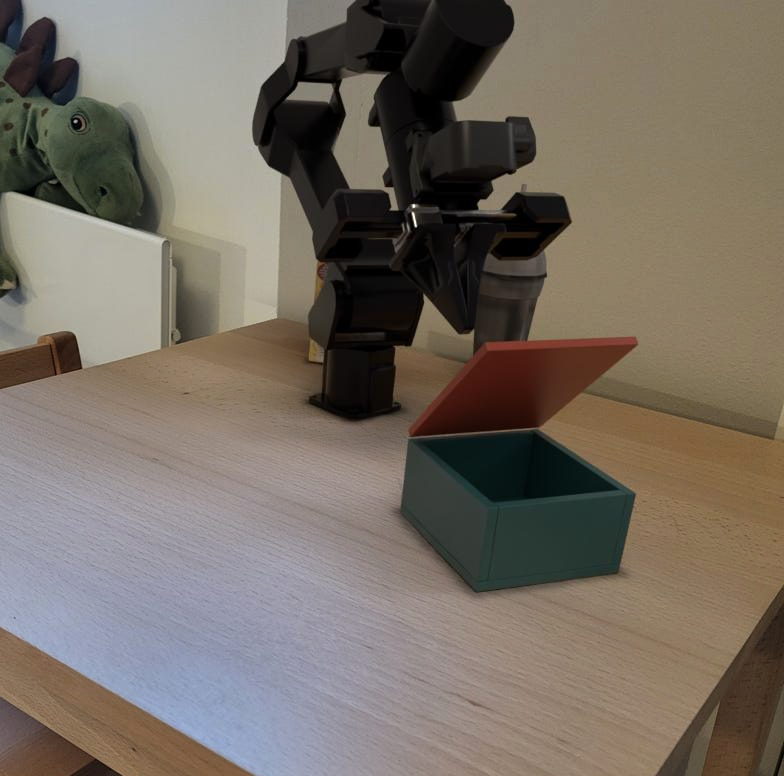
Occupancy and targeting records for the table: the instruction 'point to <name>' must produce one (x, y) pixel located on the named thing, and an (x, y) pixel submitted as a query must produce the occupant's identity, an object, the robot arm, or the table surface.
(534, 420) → the lid
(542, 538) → the teal open box
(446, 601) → the table surface
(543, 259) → the beverage cup
